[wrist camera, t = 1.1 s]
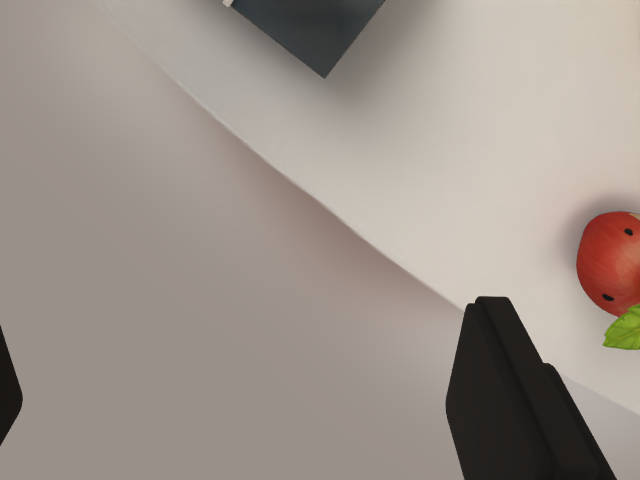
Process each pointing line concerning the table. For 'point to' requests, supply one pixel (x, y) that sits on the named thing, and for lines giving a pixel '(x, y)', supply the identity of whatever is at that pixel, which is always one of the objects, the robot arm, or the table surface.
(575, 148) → the table surface
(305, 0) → the panel
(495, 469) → the robot arm
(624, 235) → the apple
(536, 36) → the table surface
